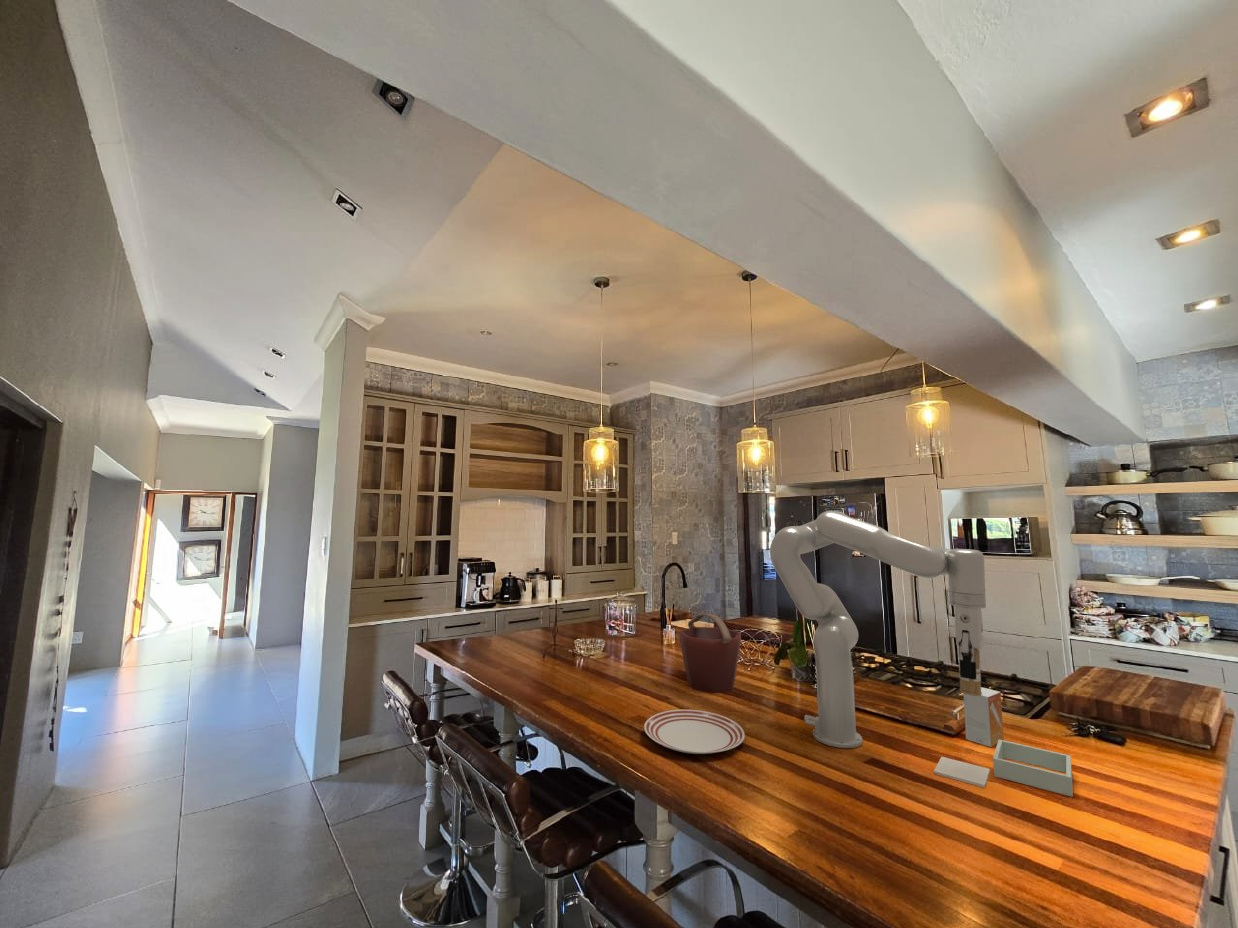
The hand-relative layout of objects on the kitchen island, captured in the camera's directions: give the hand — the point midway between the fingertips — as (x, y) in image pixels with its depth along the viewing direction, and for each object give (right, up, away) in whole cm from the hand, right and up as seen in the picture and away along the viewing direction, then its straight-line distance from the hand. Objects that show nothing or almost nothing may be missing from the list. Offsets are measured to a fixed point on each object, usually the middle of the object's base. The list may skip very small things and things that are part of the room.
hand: (969, 674), depth 126 cm
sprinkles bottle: (0, -5, 0) cm, 5 cm away
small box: (+15, -25, +16) cm, 33 cm away
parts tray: (+13, -22, -3) cm, 26 cm away
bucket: (-52, -29, +62) cm, 86 cm away
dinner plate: (-65, -25, +16) cm, 72 cm away
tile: (-3, -22, -2) cm, 23 cm away
